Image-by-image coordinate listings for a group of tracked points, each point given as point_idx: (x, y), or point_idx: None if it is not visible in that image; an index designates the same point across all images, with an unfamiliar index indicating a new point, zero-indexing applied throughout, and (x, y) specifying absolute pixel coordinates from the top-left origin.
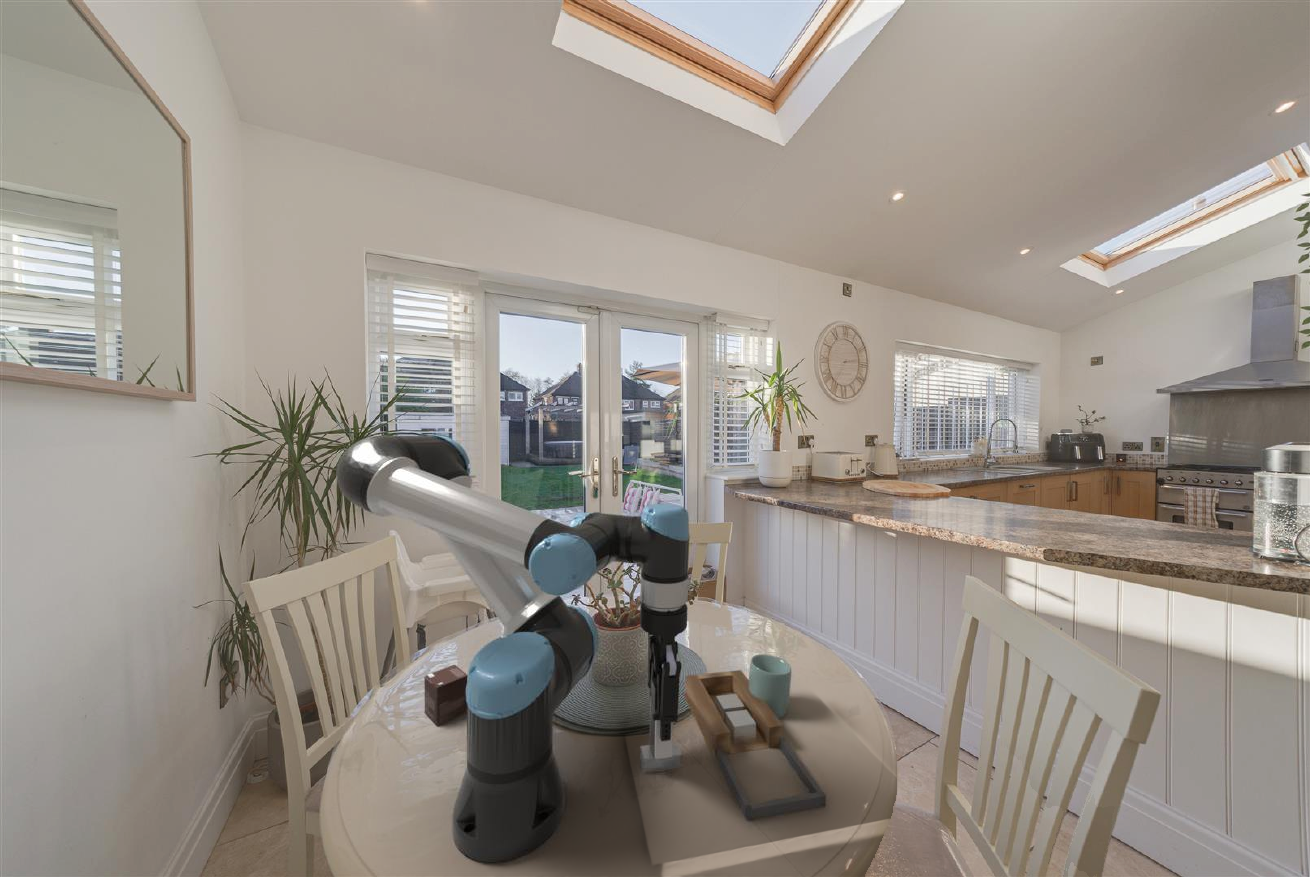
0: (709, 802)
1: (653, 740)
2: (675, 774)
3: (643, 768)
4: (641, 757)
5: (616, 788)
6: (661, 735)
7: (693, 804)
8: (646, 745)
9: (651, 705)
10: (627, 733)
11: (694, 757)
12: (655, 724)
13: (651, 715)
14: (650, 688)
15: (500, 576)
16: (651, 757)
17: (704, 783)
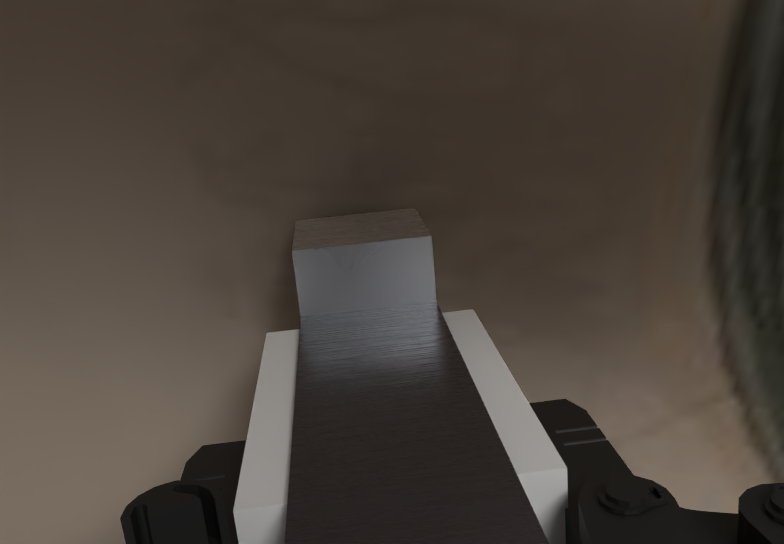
0: None
1: (308, 364)
2: None
3: (305, 232)
4: (381, 228)
5: (264, 44)
6: (196, 473)
7: (131, 462)
8: (432, 279)
9: (464, 475)
10: (734, 140)
11: None
12: (273, 453)
13: (431, 423)
14: (683, 535)
15: None
16: (309, 304)
17: None
